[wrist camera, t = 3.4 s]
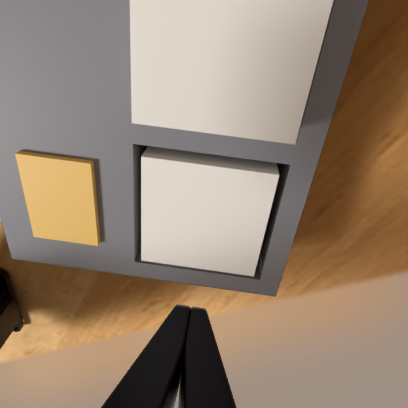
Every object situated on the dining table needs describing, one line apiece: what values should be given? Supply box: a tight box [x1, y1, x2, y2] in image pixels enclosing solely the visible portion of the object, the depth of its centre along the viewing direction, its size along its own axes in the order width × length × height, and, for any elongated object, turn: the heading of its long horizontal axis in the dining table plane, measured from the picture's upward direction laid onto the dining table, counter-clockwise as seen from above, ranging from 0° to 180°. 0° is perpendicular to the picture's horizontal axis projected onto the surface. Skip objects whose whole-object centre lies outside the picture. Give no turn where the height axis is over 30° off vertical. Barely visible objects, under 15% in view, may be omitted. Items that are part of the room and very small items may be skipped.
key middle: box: [130, 0, 334, 145], centre depth 11 cm, size 6×6×2 cm
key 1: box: [141, 146, 279, 276], centre depth 16 cm, size 6×6×2 cm
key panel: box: [0, 0, 369, 297], centre depth 13 cm, size 23×14×4 cm, turn 174°
